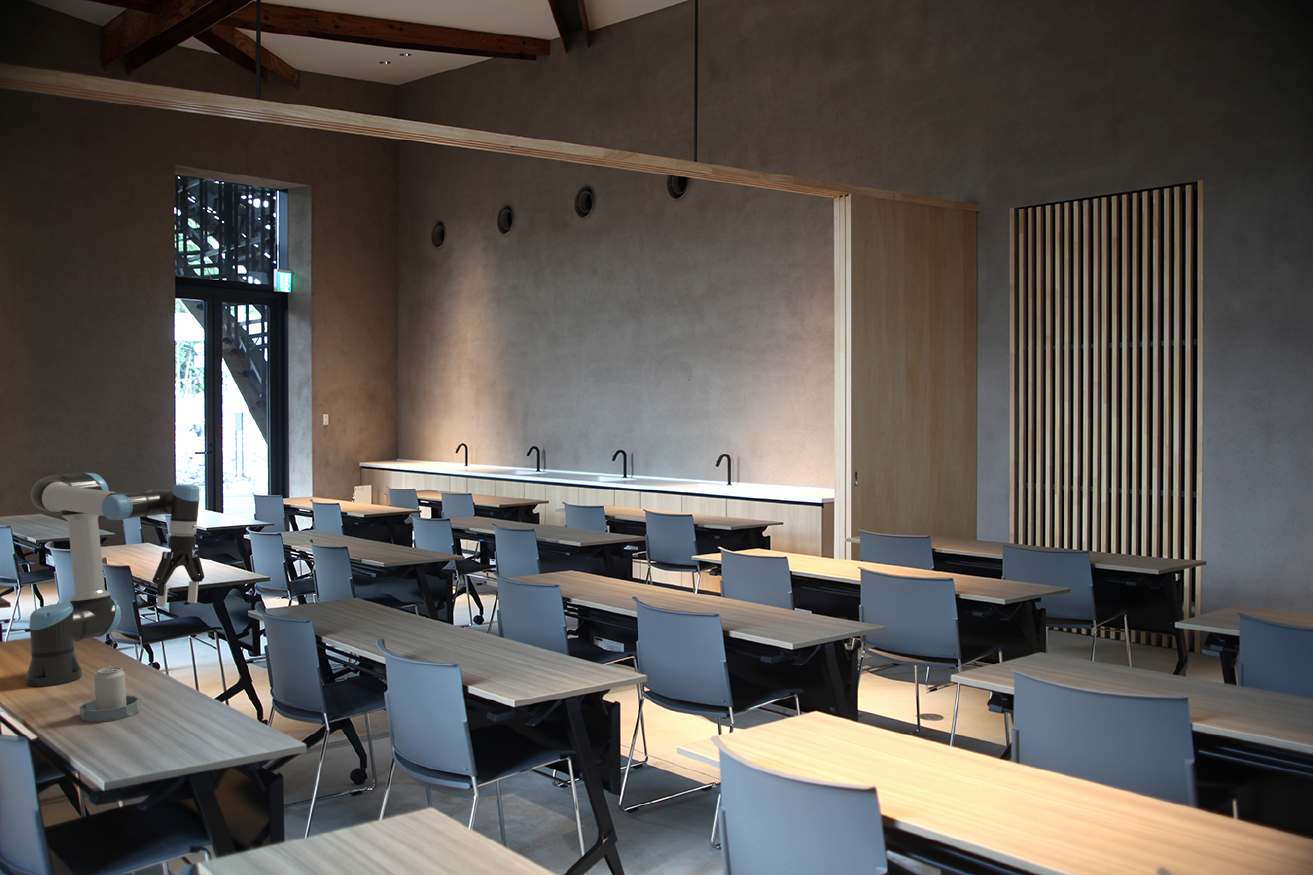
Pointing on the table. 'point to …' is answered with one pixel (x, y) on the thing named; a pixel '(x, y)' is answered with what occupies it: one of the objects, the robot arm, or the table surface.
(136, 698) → the dish
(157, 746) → the table surface
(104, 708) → the can
